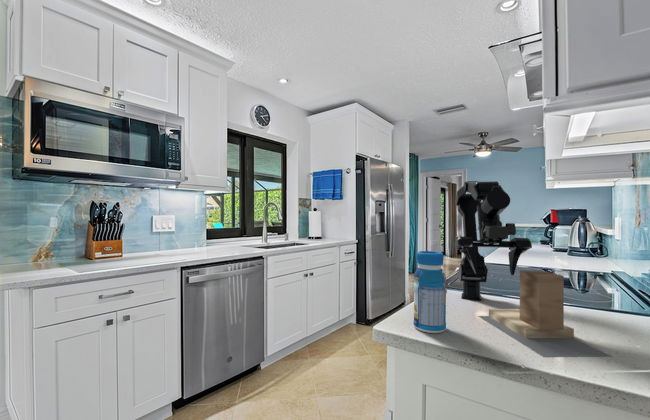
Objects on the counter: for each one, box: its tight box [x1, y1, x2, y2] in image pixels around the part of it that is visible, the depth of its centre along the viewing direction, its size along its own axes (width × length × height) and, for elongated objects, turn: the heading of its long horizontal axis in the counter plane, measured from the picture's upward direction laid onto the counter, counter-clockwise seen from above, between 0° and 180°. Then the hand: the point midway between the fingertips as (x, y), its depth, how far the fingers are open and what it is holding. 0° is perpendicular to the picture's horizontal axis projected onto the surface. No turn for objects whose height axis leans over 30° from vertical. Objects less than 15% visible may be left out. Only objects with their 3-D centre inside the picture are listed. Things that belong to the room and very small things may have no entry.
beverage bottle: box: [412, 250, 448, 334], centre depth 80 cm, size 8×8×20 cm
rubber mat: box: [477, 315, 613, 358], centre depth 77 cm, size 26×15×1 cm, turn 2°
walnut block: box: [519, 269, 565, 330], centre depth 77 cm, size 7×6×13 cm
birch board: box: [488, 308, 575, 338], centre depth 81 cm, size 16×12×2 cm
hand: (494, 274), depth 85 cm, fingers open, 9 cm apart
